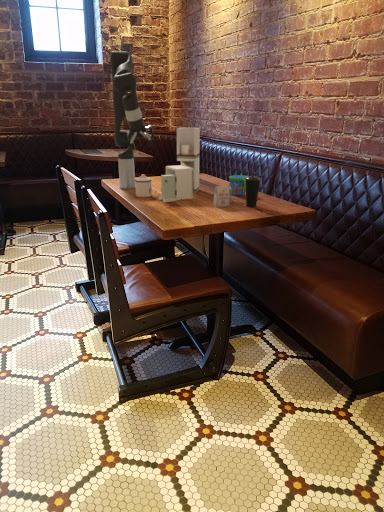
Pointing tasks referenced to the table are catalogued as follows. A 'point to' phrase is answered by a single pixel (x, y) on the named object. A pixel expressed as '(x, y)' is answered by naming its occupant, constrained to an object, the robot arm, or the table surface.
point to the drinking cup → (252, 189)
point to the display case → (189, 151)
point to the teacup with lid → (143, 186)
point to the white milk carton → (221, 196)
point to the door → (168, 186)
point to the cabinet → (181, 182)
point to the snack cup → (237, 185)
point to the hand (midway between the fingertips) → (142, 147)
